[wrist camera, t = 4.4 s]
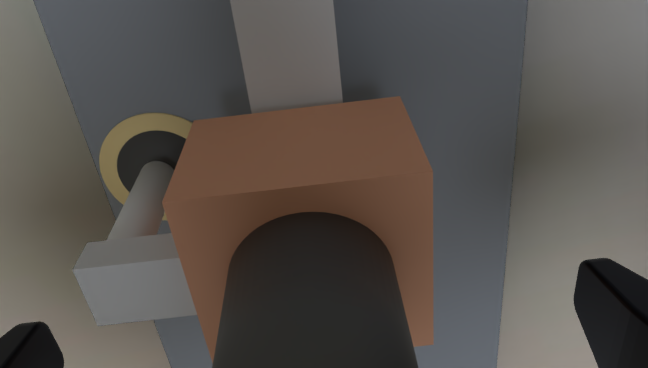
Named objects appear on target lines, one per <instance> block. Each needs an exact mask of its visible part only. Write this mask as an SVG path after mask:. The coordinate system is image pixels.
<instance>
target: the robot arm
mask: <svg viewBox="0 0 648 368" xmlns="http://www.w3.org/2000/svg"><path fill="white" fill-rule="evenodd" d="M574 306H575V310H576V313H577V315H578V318H579V320H580V323H581V325H582V328H583V330H584V332H585V335H586V337H587V340H588V342H589V345H590V347H591V350H592V352H593V355H594V357H595V360H596V362H597V365H598V367H599V368H648V280H647V279H645V278H644V277H642V276H640V275H638V274H636V273H635V272H633V271H631V270H629V269H627V268H625V267H624V266H622V265H620V264H618V263H616V262H615V261H613V260H611V259H608V258H599V259H590V260H585V261H583V262H581V264H580V266H579V270H578V276H577V281H576V287H575V292H574ZM63 367H64V358H63V354H62V352H61V350H60V348H59V346H58V344H57V342H56V340H55V338H54V337H53V335H52V333H51V331H50V329H49V327H48V326H47V325H46V324H45V323H44V322H31V323H22V324H19V325H16V326H15V327H14V328H12V329H11V330H10V331H8V332H7V333H6V334H5V335H3V336H2V337H1V338H0V368H63Z"/></svg>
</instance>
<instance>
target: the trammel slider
mask: <svg viewBox="0 0 648 368" xmlns="http://www.w3.org/2000/svg"><path fill="white" fill-rule="evenodd" d="M164 213H165V214H166V217H167V220H168V224H169V227H170V230H171V233H167V234H158V235H157V232H158V230H159V227H160V224H161V221H162V219H163V216H164ZM73 273H74V275H75V277H76V279H77V281H78V284H79V286H80V288H81V290H82V292H83V295H84V297H85V299H86V301H87V303H88V306H89V308H90V310H91V312H92V314H93V317H94V319H95V321H96V323H97V325H98V326H103V325H112V324H121V323H130V322H139V321H148V320H157V319H166V318H174V317H183V316H192V315H197V316H198V319H199V322H200V325H201V328H202V331H203V335H204V338H205V341H206V344H207V347H208V350H209V354H210V357H211V360H212V363H213V366H212V368H419V367H418V363H417V359H416V355H415V351H414V347H417V346H426V345H434V327H433V170H432V168H431V165H430V163H429V161H428V159H427V156H426V154H425V152H424V150H423V147H422V145H421V143H420V140H419V138H418V136H417V134H416V131H415V129H414V127H413V125H412V122H411V120H410V118H409V115H408V113H407V111H406V109H405V106H404V104H403V102H402V100H401V97H400V96H396V97H388V98H380V99H371V100H363V101H354V102H346V103H337V104H329V105H320V106H312V107H303V108H295V109H286V110H278V111H270V112H261V113H253V114H244V115H236V116H227V117H219V118H210V119H202V120H194V121H193V124H192V126H191V129H190V131H189V134H188V137H187V139H186V142H185V144H184V147H183V149H182V152H181V155H180V157H179V160H178V162H177V165H176V167H175V170H173V168H172V167H171V166H170V165H168V164H166V163H164V162H160V161H152V162H149V163H147V164H145V165H144V166H143V168H142V169H141V171H140V173H139V175H138V177H137V179H136V181H135V183H134V185H133V187H132V189H131V191H130V193H129V196H128V198H127V200H126V202H125V204H124V206H123V208H122V210H121V212H120V214H119V216H118V218H117V220H116V222H115V224H114V226H113V228H112V230H111V232H110V234H109V236H108V238H107V240H106V241H97V242H88V243H87V244H86V246H85V248H84V249H83V251H82V253H81V255H80V257H79V259H78V260H77V262H76V264H75V266H74V268H73Z"/></svg>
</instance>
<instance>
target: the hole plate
mask: <svg viewBox="0 0 648 368" xmlns="http://www.w3.org/2000/svg"><path fill="white" fill-rule="evenodd" d="M33 1H34V3H35V6H36V9H37V11H38V14H39V17H40V19H41V22H42V25H43V27H44V30H45V33H46V35H47V38H48V41H49V43H50V46H51V49H52V51H53V54H54V57H55V59H56V62H57V65H58V67H59V70H60V73H61V75H62V78H63V81H64V83H65V86H66V89H67V91H68V94H69V97H70V99H71V102H72V105H73V107H74V110H75V113H76V115H77V118H78V121H79V123H80V126H81V129H82V131H83V134H84V137H85V139H86V142H87V145H88V147H89V150H90V153H91V155H92V158H93V160H94V163H95V166H96V168H97V171H98V174H99V176H100V179H101V182H102V184H103V187H104V190H105V192H106V195H107V198H108V200H109V203H110V206H111V208H112V211H113V214H114V216H115V219H116V220H117V218H118V216H119V214H120V212H121V210H122V208H123V206H124V204H125V202H126V200H127V198H128V196H129V193H130V191H131V189H132V187H133V185H134V183H135V181H136V179H137V177H138V175H139V173H140V171H141V169H142V168H143V166H144V165H145V164H147V163H149V162H152V161H160V162H164V163H166V164H168V165H170V166H171V167H172V168H173V170H175V167H176V165H177V162H178V160H179V157H180V155H181V152H182V149H183V147H184V144H185V142H186V139H187V137H188V134H189V131H190V129H191V126H192V124H193V121H194V120H202V119H210V118H219V117H227V116H236V115H244V114H253V113H261V112H270V111H278V110H286V109H295V108H303V107H312V106H320V105H329V104H337V103H346V102H354V101H363V100H371V99H380V98H388V97H396V96H400V97H401V100H402V102H403V104H404V106H405V109H406V111H407V113H408V115H409V118H410V120H411V122H412V125H413V127H414V129H415V131H416V134H417V136H418V138H419V140H420V143H421V145H422V147H423V150H424V152H425V154H426V156H427V159H428V161H429V163H430V165H431V168H432V170H433V327H434V345H426V346H417V347H414V351H415V355H416V359H417V363H418V367H419V368H497V356H498V345H499V333H500V321H501V310H502V298H503V286H504V275H505V263H506V251H507V240H508V228H509V216H510V205H511V193H512V181H513V170H514V158H515V146H516V135H517V123H518V111H519V100H520V88H521V76H522V65H523V53H524V41H525V30H526V18H527V6H528V0H33ZM167 233H171V230H170V227H169V224H168V220H167V217H166V214H165V213H164V216H163V219H162V221H161V224H160V227H159V230H158V232H157V235H158V234H167ZM154 323H155V326H156V328H157V331H158V334H159V336H160V339H161V342H162V344H163V347H164V350H165V352H166V355H167V358H168V360H169V363H170V366H171V368H212V366H213V363H212V360H211V357H210V354H209V350H208V347H207V344H206V341H205V338H204V335H203V331H202V328H201V325H200V322H199V319H198V316H197V315H192V316H183V317H174V318H166V319H157V320H154Z"/></svg>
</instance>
